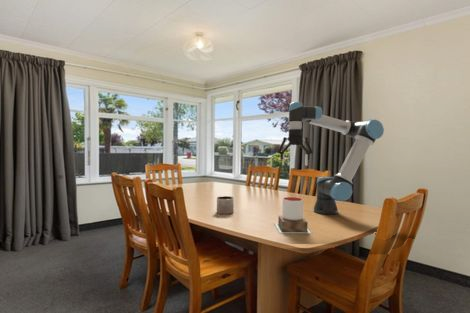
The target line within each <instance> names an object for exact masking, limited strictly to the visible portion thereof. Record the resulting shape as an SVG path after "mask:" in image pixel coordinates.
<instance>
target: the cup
mask: <svg viewBox="0 0 470 313" xmlns="http://www.w3.org/2000/svg"><path fill="white" fill-rule="evenodd" d="M282 216H283V218H284V219H286V220H291V221H298V220H301V219H302V218H304V199H303V198H301V197H296V196H295V197H294V196H286V197H283V198H282Z"/></svg>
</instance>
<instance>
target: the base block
mask: <svg viewBox="0 0 470 313" xmlns="http://www.w3.org/2000/svg"><path fill="white" fill-rule="evenodd" d="M277 224H278V225H279V227H280V229H281V230H282V232H307V228H308V221H307V220H306V219H305V218H304V217H303V218H302V219H301V220H298V221H291V220H286V219H284V218H283V215H278V221H277Z"/></svg>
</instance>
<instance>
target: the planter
mask: <svg viewBox="0 0 470 313" xmlns="http://www.w3.org/2000/svg"><path fill="white" fill-rule="evenodd" d="M234 202H235V201H234V197H233V196H228V195H220V196H217V197H216V213H217V214H220V215H231V214H233V213H235V212H234V208H235V207H234V206H235V204H234Z"/></svg>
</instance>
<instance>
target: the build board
mask: <svg viewBox="0 0 470 313" xmlns="http://www.w3.org/2000/svg"><path fill="white" fill-rule="evenodd" d="M273 225H274V226H275V228H276V230H277V233H278V234H280V235H282V234H284V235H285V234H288V235H290V234H293V235H298V234H299V235H301V234H302V235H304V234H305V235H313V233H312V231H311V230H310V229H309V227H307V232H282V230H281V229H280V227H279V225H278V223H273Z"/></svg>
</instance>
